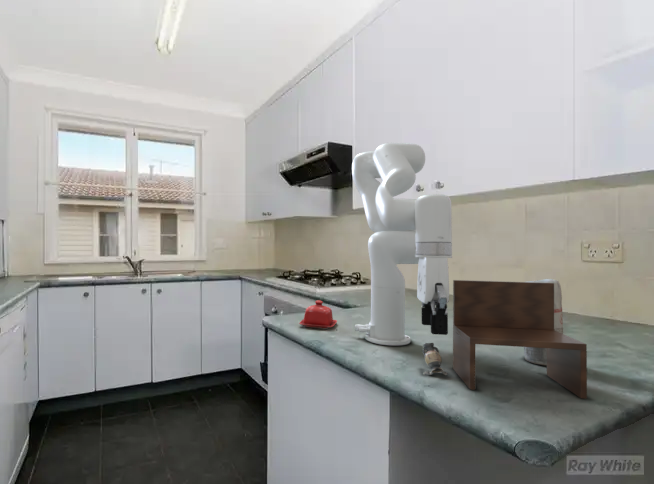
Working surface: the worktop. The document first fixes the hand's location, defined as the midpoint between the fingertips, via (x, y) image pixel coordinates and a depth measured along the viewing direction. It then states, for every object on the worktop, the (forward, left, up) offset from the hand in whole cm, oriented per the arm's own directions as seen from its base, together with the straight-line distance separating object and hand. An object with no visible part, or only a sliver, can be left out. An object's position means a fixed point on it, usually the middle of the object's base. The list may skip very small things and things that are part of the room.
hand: (433, 329), depth 81 cm
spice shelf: (+15, -2, -9) cm, 18 cm away
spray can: (+28, +14, -10) cm, 32 cm away
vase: (0, +1, -10) cm, 10 cm away
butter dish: (-28, +40, -10) cm, 49 cm away
